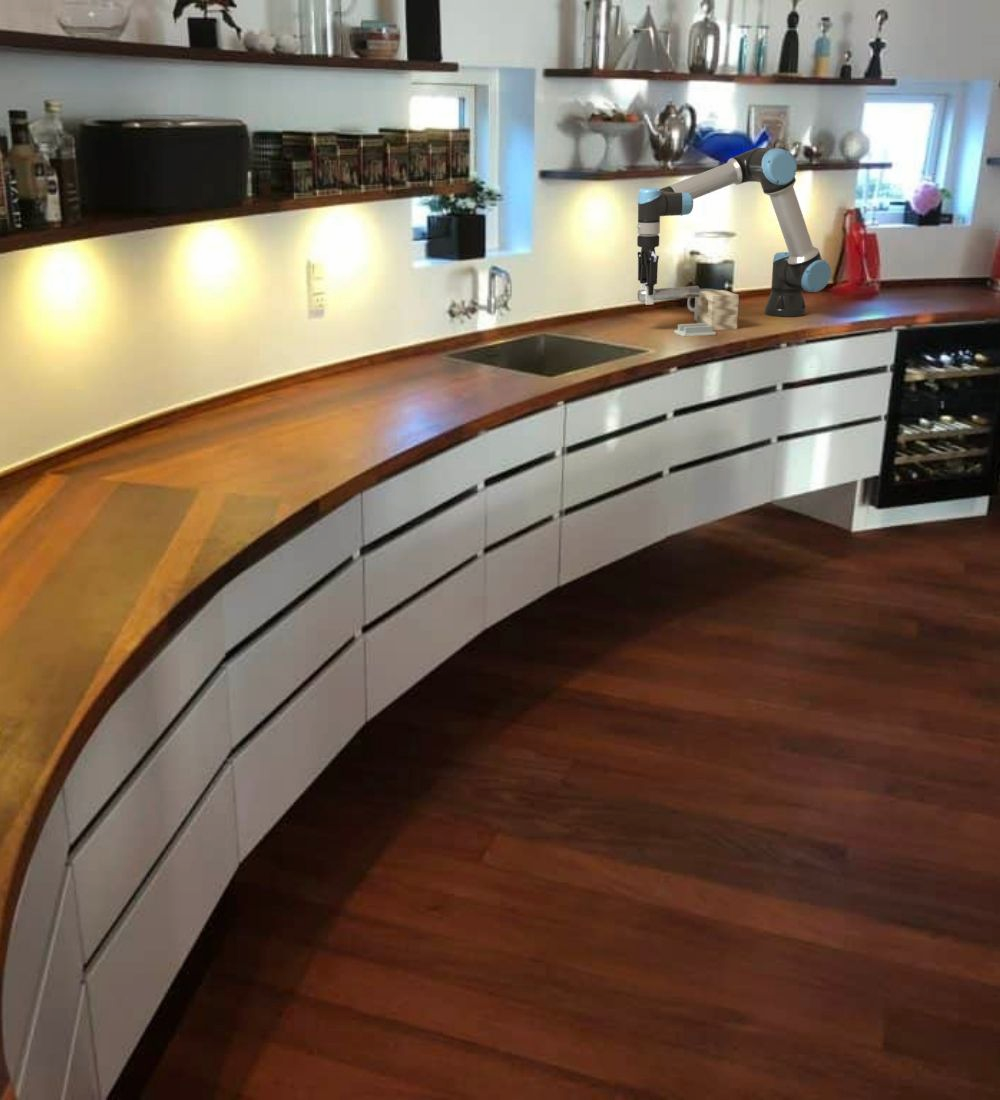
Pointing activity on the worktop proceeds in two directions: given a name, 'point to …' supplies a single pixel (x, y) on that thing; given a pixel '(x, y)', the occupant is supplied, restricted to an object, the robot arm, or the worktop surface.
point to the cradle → (694, 329)
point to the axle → (671, 293)
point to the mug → (696, 304)
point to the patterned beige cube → (718, 309)
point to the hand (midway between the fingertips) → (646, 303)
